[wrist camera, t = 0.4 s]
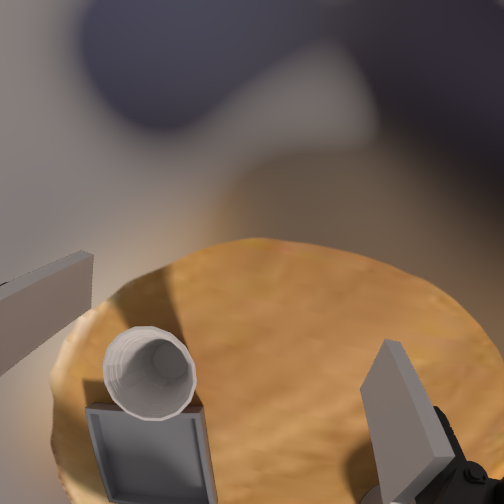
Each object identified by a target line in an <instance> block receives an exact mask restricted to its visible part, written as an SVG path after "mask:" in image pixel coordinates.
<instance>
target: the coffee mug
mask: <svg viewBox="0 0 504 504" xmlns="http://www.w3.org/2000/svg"><path fill="white" fill-rule="evenodd" d="M360 504H383V501H382V495H381V489H380V484H378V485H376V486H375V487H373V488H372V489H371V490H370V491H369V492H368V493H367V494H366V495H365V496H364V497H363V499H362V501H361V503H360ZM409 504H416V502H415V499H414V500H412V501H411V502H410V503H409Z"/></svg>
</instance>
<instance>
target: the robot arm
mask: <svg viewBox="0 0 504 504" xmlns="http://www.w3.org/2000/svg"><path fill="white" fill-rule="evenodd" d="M93 258H94V255H93V254H90V253H87V252H85V251H82V250H81V251H78V252H76V253H73V254H71V255H69V256H66V257H64V258H62V259H60V260H57V261H55V262H53V263H50V264H48V265H46V266H43V267H41V268H39V269H37V270H34V271H32V272H30V273H28V274H26V275H23V276H21V277H19V278H17V279H15V280H12V281H10V282H6V283H3V284H1V285H0V376H1V375H2V374H4V373H5V372H6V371H8V370H9V369H10V368H11V367H13V366H14V365H15V364H17V363H18V362H19V361H20V360H22V359H23V358H24V357H26V356H27V355H28V354H30V353H31V352H32V351H33V350H35V349H36V348H37V347H38V346H40V345H41V344H43V343H44V342H45V341H47V340H48V339H49V338H51V337H52V336H53V335H55V334H56V333H58V332H59V331H60V330H61V329H63V328H64V327H66V326H67V325H68V324H70V323H71V322H72V321H74V320H75V319H77V318H78V317H79V316H81V315H82V314H84V313H85V312H86V311H88V310H89V309H91V295H92V274H93ZM360 391H361V396H362V400H363V404H364V409H365V413H366V417H367V422H368V427H369V431H370V436H371V441H372V446H373V451H374V456H375V461H376V466H377V472H378V477H379V483H380V489H381V495H382V501H383V504H409V503H410V502H411V501H412V500H414V499H415V502H416V504H504V477H503V478H502V479H501V480H497V479H492V478H488V476H487V473H486V471H485V470H484V469H483V467H482V466H480V465H479V464H478V463H475V462H472V461H467V460H466V458H465V456H464V454H463V451H462V449H461V447H460V445H459V443H458V440H457V438H456V436H455V435H454V432H453V430H452V428H451V427H450V424H449V422H448V419H447V417H446V415H445V414H444V413H443V412H442V411H441V410H440V409H439V408H438V407H437V406H432V404H431V401H430V399H429V397H428V395H427V393H426V391H425V389H424V387H423V385H422V383H421V381H420V379H419V377H418V375H417V373H416V371H415V369H414V367H413V365H412V364H411V362H410V360H409V358H408V356H407V354H406V352H405V350H404V348H403V347H402V345H401V343H400V342H397V341H393V340H388V339H385V340H384V342H383V344H382V346H381V348H380V350H379V352H378V354H377V356H376V359H375V361H374V363H373V365H372V367H371V369H370V371H369V372H368V374H367V376H366V378H365V380H364V382H363V384H362V386H361V388H360Z"/></svg>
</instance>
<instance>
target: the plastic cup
mask: <svg viewBox="0 0 504 504" xmlns="http://www.w3.org/2000/svg"><path fill="white" fill-rule="evenodd" d="M102 365H103V376H104V383H105V385H106V387H107V389H108V392H109V394H110V396H111V398H112V400H113V401H114V402H115V403H116V404H117V405H119V406H120V407H121V408H122V409H123V410H124V411H125V412H126V413H128V414H130V415H132V416H134V417H137V418H139V419H141V420H145V421H163V420H166V419H169V418H171V417H174V416H176V415H178V414H180V412H181V411H182V410H183V409H184V408H185V407H186V406H187V405H188V404H189V403H190V402H191V400H192V397H193V394H194V391H195V388H196V385H197V381H196V370H195V364H194V362H193V360H192V358H191V356H190V354H189V352H188V350H187V348H186V346H185V345H184V344H182V343H181V342H180V341H179V340H178V339H177V338H176V337H175V336H174V335H173V334H172V333H170V332H167V331H164V330H162V329H159V328H157V327H154V326H136V327H133V328H130V329H128V330H126V331H124V332H122V333H120V334H118V335H117V337H116V338H115V339H114V340H113V341H112V343H111V344H110V345H109V346H108V347H107V351H106V354H105V357H104V361H103V364H102Z"/></svg>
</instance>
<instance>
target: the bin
mask: <svg viewBox="0 0 504 504" xmlns="http://www.w3.org/2000/svg"><path fill="white" fill-rule="evenodd" d="M85 413H86V418H87V423H88V428H89V432H90V436H91V441H92V445H93V449H94V453H95V457H96V460H97V464H98V468H99V471H100V474H101V478H102V481H103V484H104V488H105V491H106V494H107V497H108V500H109V502H112V503H118V504H217V503H218V497H217V491H216V486H215V480H214V474H213V468H212V462H211V455H210V449H209V442H208V435H207V428H206V421H205V414H204V406H186V407H185V408H184V409H183V410H182V411H181V412H180V414H178V415H176V416H174V417H171V418H169V419H166V420H163V421H145V420H141V419H139V418H137V417H134V416H132V415H130V414H128V413H126V412H125V411H124V410H123V409H122V408H121V407H120V406H119V405H117V404H108V403H96V402H94V403H92V404H91V405H89V406H87V407H86V408H85Z"/></svg>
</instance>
